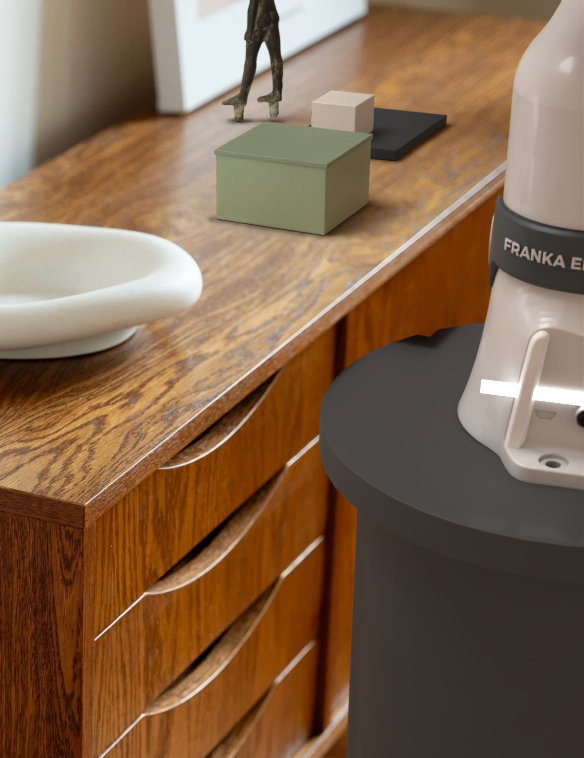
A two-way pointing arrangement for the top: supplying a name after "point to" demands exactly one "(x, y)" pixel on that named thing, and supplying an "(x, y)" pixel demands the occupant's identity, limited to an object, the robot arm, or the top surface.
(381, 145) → the mat
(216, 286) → the top surface
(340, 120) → the beige cube
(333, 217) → the storage box
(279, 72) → the statue
